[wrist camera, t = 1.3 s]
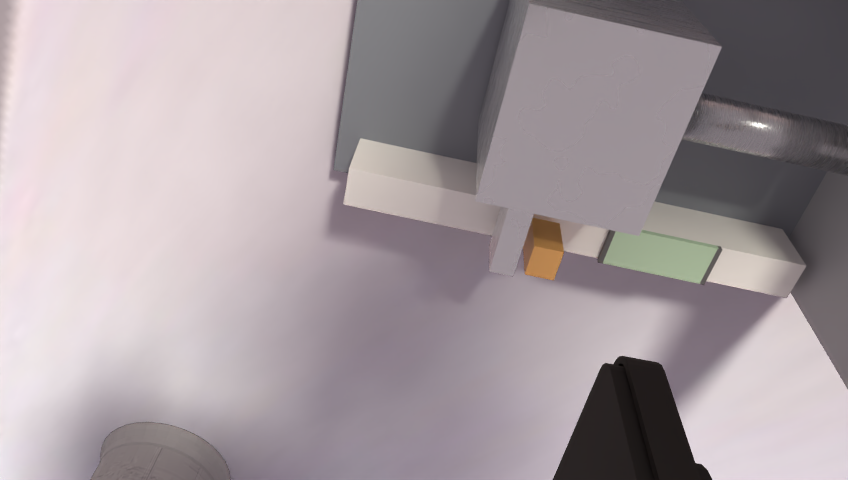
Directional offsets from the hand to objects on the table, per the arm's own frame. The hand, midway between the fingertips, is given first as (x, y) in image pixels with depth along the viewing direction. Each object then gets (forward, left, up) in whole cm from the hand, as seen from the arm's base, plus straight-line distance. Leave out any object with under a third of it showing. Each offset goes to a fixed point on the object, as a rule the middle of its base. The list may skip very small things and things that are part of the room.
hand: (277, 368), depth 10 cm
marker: (+8, +7, -18) cm, 21 cm away
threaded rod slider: (+3, +11, -21) cm, 24 cm away
